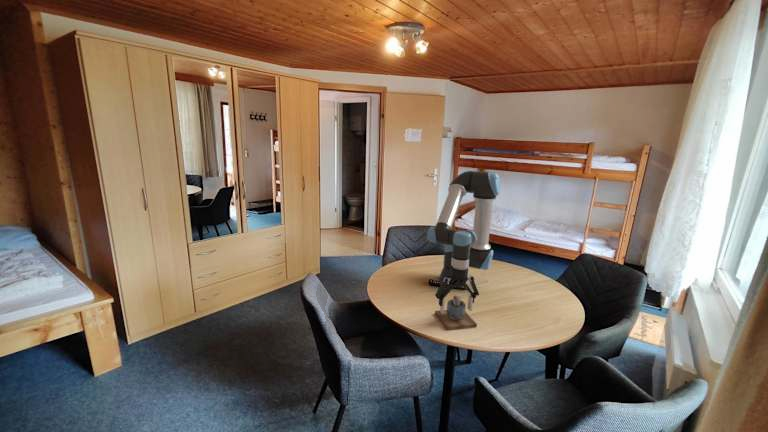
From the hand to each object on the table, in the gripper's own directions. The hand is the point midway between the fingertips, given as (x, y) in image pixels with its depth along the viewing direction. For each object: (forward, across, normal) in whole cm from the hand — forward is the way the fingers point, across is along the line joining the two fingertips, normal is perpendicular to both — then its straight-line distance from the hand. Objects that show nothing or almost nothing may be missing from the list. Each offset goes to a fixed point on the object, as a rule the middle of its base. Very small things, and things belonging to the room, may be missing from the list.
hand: (455, 310), depth 148 cm
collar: (+1, 0, 0) cm, 1 cm away
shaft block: (+5, 0, 0) cm, 5 cm away
